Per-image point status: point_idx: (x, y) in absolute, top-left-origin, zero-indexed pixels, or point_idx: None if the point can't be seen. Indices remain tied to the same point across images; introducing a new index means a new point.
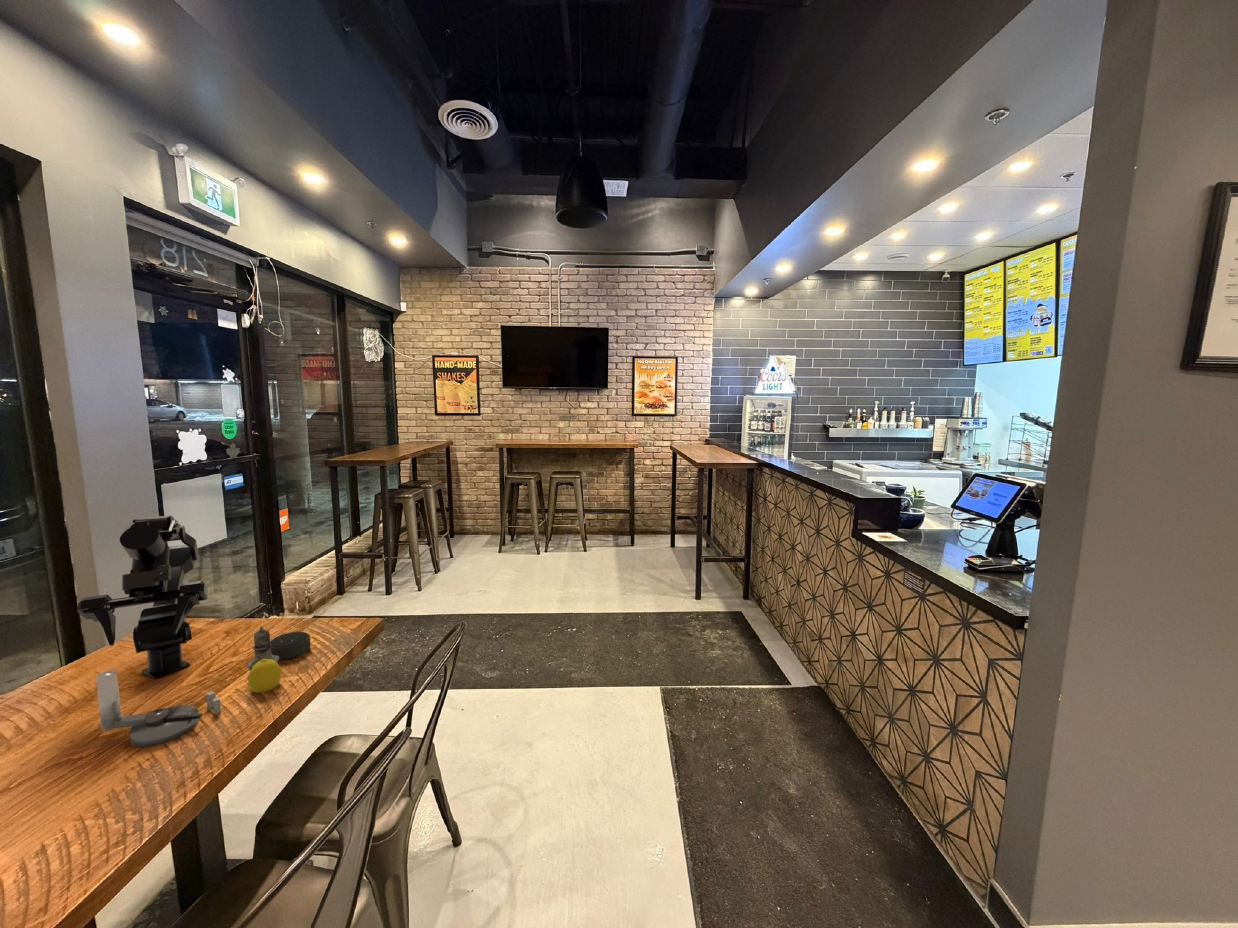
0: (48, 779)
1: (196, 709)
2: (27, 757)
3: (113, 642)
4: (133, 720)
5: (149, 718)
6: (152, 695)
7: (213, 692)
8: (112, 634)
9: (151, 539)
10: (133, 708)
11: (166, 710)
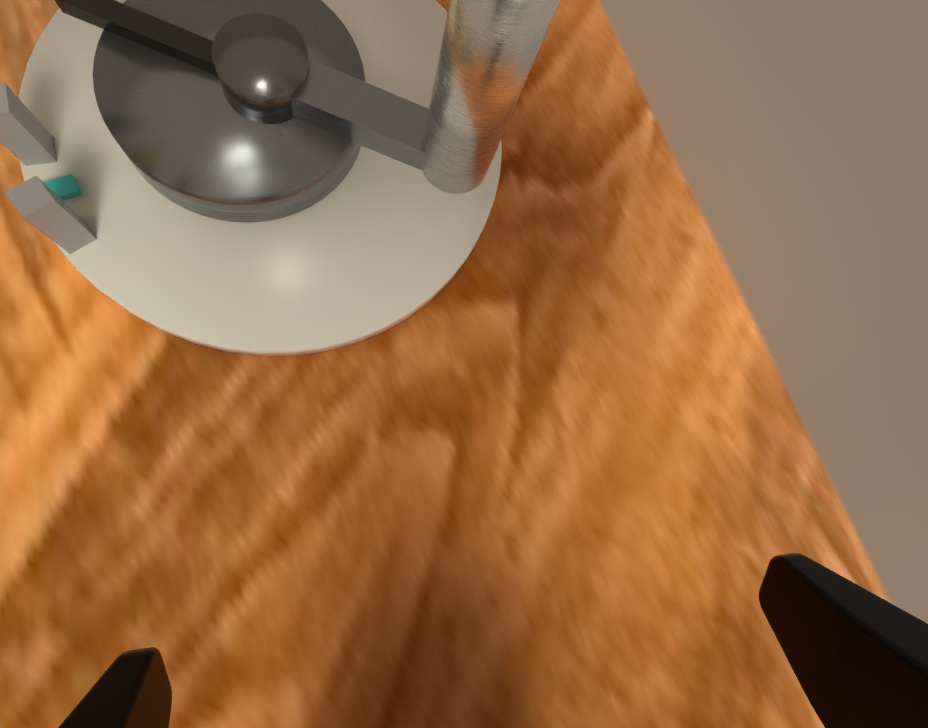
0: (561, 86)
1: (101, 96)
2: (696, 282)
3: (781, 610)
4: (358, 81)
5: (281, 21)
6: (424, 628)
7: (14, 196)
8: (878, 648)
9: None
10: (469, 511)
11: (218, 57)
